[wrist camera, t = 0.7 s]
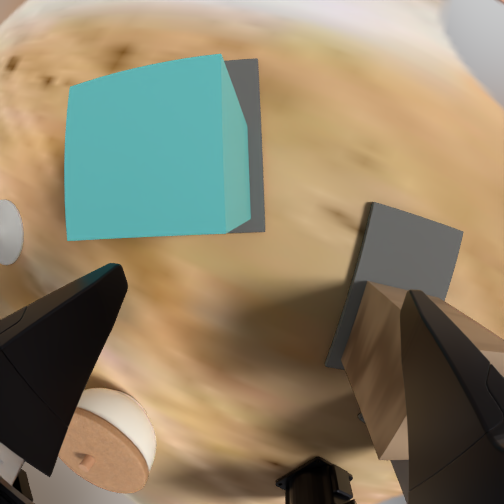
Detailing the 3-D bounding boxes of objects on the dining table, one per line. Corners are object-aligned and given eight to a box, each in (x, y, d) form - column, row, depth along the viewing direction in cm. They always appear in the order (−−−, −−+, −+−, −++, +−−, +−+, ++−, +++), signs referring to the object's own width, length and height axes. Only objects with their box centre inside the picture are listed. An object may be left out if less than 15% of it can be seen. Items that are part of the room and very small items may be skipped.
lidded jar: (133, 458, 29) (104, 511, 20) (67, 396, 28) (23, 440, 19) (190, 426, 27) (164, 493, 18) (112, 352, 26) (59, 402, 17)
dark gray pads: (402, 448, 26) (404, 451, 26) (81, 162, 24) (77, 162, 23) (518, 330, 23) (522, 332, 23) (220, 11, 21) (219, 8, 21)
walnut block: (409, 369, 24) (470, 453, 12) (340, 359, 24) (378, 460, 12) (437, 297, 23) (525, 355, 11) (367, 280, 23) (440, 344, 11)
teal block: (250, 218, 23) (226, 233, 11) (160, 223, 23) (67, 241, 12) (247, 126, 22) (221, 53, 10) (158, 135, 22) (70, 86, 11)
